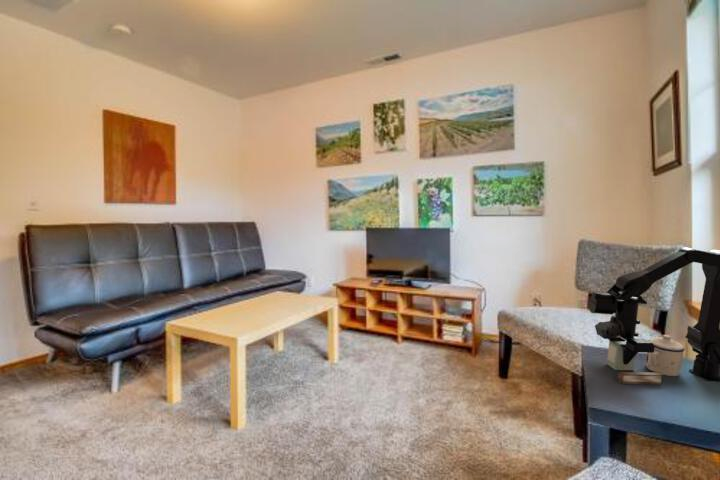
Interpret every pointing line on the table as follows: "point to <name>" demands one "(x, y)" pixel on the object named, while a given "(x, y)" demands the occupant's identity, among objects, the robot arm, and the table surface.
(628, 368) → the sage tin
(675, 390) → the table surface
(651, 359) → the teacup with lid
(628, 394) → the table surface
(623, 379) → the wooden block
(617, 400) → the table surface
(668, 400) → the table surface
